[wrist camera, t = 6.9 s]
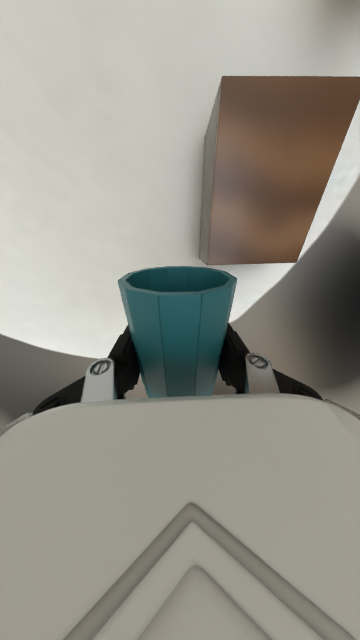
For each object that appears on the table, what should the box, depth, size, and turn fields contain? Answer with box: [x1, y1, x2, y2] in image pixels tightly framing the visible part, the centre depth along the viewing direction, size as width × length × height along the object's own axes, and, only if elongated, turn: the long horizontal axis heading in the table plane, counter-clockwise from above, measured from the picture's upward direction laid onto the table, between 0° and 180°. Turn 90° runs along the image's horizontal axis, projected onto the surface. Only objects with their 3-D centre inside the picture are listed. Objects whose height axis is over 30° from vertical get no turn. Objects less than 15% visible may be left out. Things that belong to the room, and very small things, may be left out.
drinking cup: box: [118, 266, 237, 398], centre depth 9 cm, size 8×6×6 cm
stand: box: [199, 76, 360, 265], centre depth 17 cm, size 14×12×7 cm
